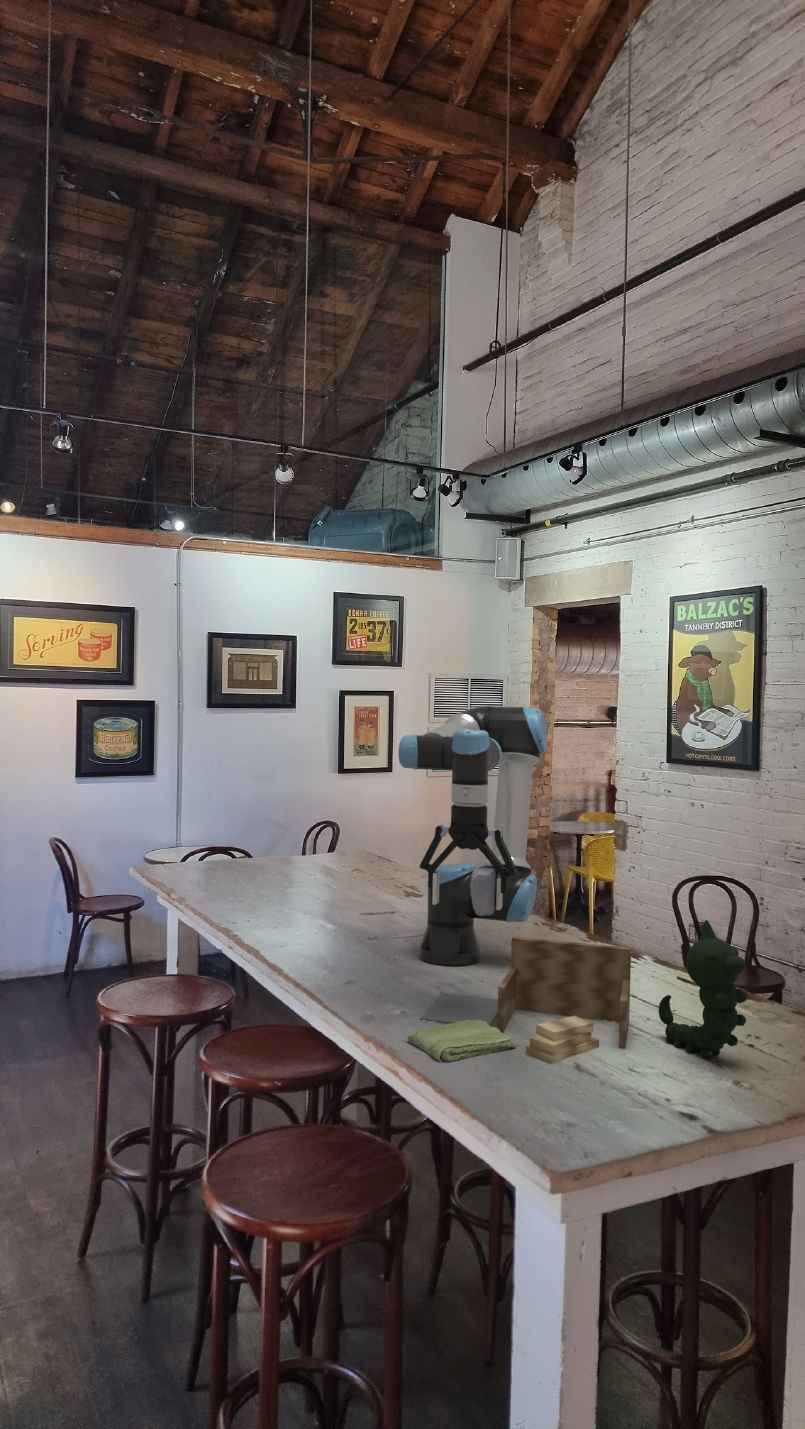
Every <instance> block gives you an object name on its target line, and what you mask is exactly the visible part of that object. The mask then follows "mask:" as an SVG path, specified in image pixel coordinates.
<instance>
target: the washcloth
mask: <svg viewBox="0 0 805 1429" xmlns="http://www.w3.org/2000/svg"><path fill="white" fill-rule="evenodd" d="M407 1041H408V1043H409V1042H411V1043H410V1044H411V1045H412V1044H414V1045H416V1046H417V1047H416V1046H415V1047H416V1048H418V1047H419V1048H418V1049H419V1050H422V1051H424V1052H425V1053H426V1054H428V1055H429V1056H430V1057H432V1058H433V1059H435V1060H436V1061H437V1060H438V1062H439V1063H444V1062H447V1063H448V1062H450V1063H451V1062H456V1061H458V1060H463V1059H467V1058H468V1059H469V1058H471V1057H477V1056H481V1055H487V1054H488V1055H489V1054H491V1053H495V1052H500V1051H504V1050H505V1051H507V1050H511V1049H514V1048H517V1046H518V1045H517V1043H516V1042H515V1041H514V1040H512V1039H511V1037H510V1036H508V1035H506V1034H504V1032H503V1033H501V1031H500V1030H498V1029H497V1026H496V1027H494V1026H491V1027H490V1026H489V1025H488V1024H487V1023H486V1022H485V1021H481V1020H474V1021H466V1020H465V1021H460V1022H456V1023H452V1024H444V1025H437V1026H435V1025H434V1026H429V1027H424V1028H417V1029H415V1030H413V1031H412V1032H409V1034H408V1035H407ZM414 1045H413V1046H414ZM443 1061H444V1062H443Z"/></svg>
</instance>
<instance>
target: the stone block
mask: <svg viewBox="0 0 805 1429" xmlns="http://www.w3.org/2000/svg"><path fill="white" fill-rule="evenodd" d="M485 863H486V864H485ZM485 863H484V865H485V866H484V865H482V866H479V867H476V869H475V870H474V871H473V873H472V875H471V883H470V888H471V898H472V903H473V908H474V911H475V913H476V914H477V915H480V916H484V915H492V914H493V913H494V911H495V909H496V898H497V878H498V877H499V876H500V875H499V874H498V872H497V871H496V870H495V868H494V867H493V866H492V864H491V863H490V862H487V861H486V862H485ZM502 894H503V893H502Z"/></svg>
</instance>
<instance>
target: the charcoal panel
mask: <svg viewBox="0 0 805 1429" xmlns="http://www.w3.org/2000/svg"><path fill="white" fill-rule="evenodd" d="M497 1017H498V998H493V997H492V998H490V997H481V996H472V995H464V994H455V993H454V994H453V993H448V992H447V993H446V992H445V993H444V992H441V993H440V994H439V995H438V997H437V998H436V999H435V1000H434V1001H433V1002H432V1004H431V1005H430V1006H429V1007H428V1008H427V1009H426V1011H425V1012H424V1013H423V1014H422V1015H421V1017H420V1019H419V1021H421V1020H426V1021H425V1022H428V1021H435V1022H434V1023H436V1022H438V1023H437V1024H443V1023H445V1024H452V1023H456V1022H460V1021H465V1020H466V1021H474V1020H481V1021H485V1022H486V1023H487V1024H488V1025H489V1026H490V1027H492V1025H493V1023H494V1022H495V1019H496V1018H497ZM445 1024H444V1025H445Z"/></svg>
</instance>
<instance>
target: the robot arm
mask: <svg viewBox="0 0 805 1429" xmlns="http://www.w3.org/2000/svg"><path fill="white" fill-rule="evenodd" d="M546 726H547V725H546V720H545V716H544V714H543V712H542V710H540V709H539V708H537V707H526V706H488V705H487V706H477V707H473V708H469V709H465V710H462V711H460V712H458V713H455V714H454V715H451V716H450V717H449V718H448V719H446V721H445V723H444V724H443V725H442V724H441V725H440V726H438V727H437V728H434V729H432V730H430V731H429V732H426V733H424V734H422V735H418V734H413V735H411V734H410V735H409V734H408V735H404V736H402V737H401V739H400V742H399V744H398V753H397V754H398V761H399V764H400V766H401V767H403V769H413V770H415V771H417V770H429V771H430V770H435V771H451V798H450V800H451V802H452V803H453V804H452V805H450V825H449V826H444V825H443V824H440V825H438V826H436V827H435V829H434V830H435V831H434V837H433V839H432V841H431V843H430V845H429V846H428V848H427V851H426V852H425V854H424V856H423V859H422V860H421V862H420V864H419V869H421V870H425V871H426V872H427V873H428V874H427V876H428V878H427V879H428V880H427V924H426V929H425V931H424V934H423V937H422V940H421V943H420V946H419V958H420V957H421V958H420V959H421V960H423V961H425V962H429V963H431V964H437V965H444V966H464V965H470V964H474V963H477V962H478V961H479V960H480V959H481V950H480V949H481V948H480V945H479V941H478V939H477V934H476V931H475V926H474V922H475V919H479V920H490V921H500V922H507V923H511V922H512V923H523V922H527V921H528V920H529V918H530V917H531V915H532V912H533V909H534V905H535V902H536V896H537V892H538V891H537V890H538V888H537V887H538V877H536V875H534V874H532V867H531V866H530V864H529V863H528V862H527V860H526V859H527V851H528V849H527V847H528V835H529V822H530V820H529V819H530V811H531V810H530V807H531V795H532V784H533V781H532V780H533V770H534V769H533V768H534V766H535V765H536V764H538V763H539V762H540V757H541V756H540V755H544V754H546V753H547V750H548V749H547V747H548V735H547V727H546ZM497 766H498V771H497V772H498V773H497V783H496V784H497V786H496V796H495V805H494V806H495V809H494V810H495V811H494V820H493V829H489V827H488V806H487V805H486V804H487V803H488V798H489V797H488V796H489V780H488V779H489V772H491V771H492V770H494V769H495V768H496V767H497ZM447 834H448V835H449V836H450V838H451V840H452V841H451V842H450V843H449V844H448V845H447V846H446V847H445V849H444V850H443V851H442V852H441V853H440V854H439V856H438V857H436V859H435V860H434V861H433V862H432V864H431V863H430V862H431V860H432V858H433V856H434V855H435V852H436V851H437V848H438V847H439V844H440V843H441V842H442V839H443V837H446V836H447ZM489 836H490V837H491V839H492V843H491V848H490V845H489V843H487V842H486V839H488V837H489ZM456 848H459V849H460V850H466V849H468V850H473V851H474V850H477V849H478V850H479V851H480V853H482V854H483V855H484V857H485V858H486V859H487V861H486V862H490V863H491V864H492V866H493V867H494V868H495V870H496V871H497V872H498V874H499V875H500V876H499V877H498V878H497V898H496V909H495V911H494V913H493V914H492V915H484V916H480V915H477V914H476V913H475V911H474V908H473V903H472V898H471V888H470V883H471V875H472V873H473V871H474V870H475V869H477V867H476V865H475V864H474V863H468V862H465V863H462V862H461V863H460V862H459V863H450V864H449V863H447V864H444V865H441V864H442V863H443V862H444V861H445V860H446V859H447V858H448V857H449V856H450V855H451V853H452V852H453V851H454V850H455V849H456ZM486 862H484V865H483V866H485V864H486ZM502 893H503V894H502Z"/></svg>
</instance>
